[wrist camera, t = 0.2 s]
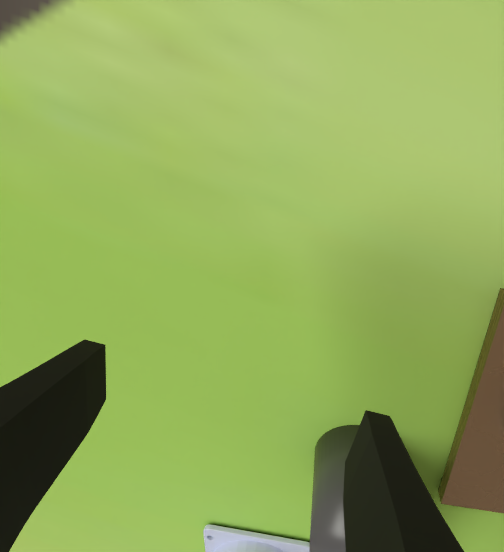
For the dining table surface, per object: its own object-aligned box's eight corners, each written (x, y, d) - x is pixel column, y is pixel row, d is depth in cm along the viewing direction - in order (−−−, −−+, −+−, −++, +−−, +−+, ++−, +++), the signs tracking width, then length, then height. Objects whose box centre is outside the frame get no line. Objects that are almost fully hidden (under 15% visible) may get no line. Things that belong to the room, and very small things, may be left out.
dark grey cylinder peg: (393, 489, 26) (408, 598, 21) (312, 476, 27) (306, 579, 21) (407, 431, 23) (427, 538, 18) (317, 419, 24) (312, 518, 19)
